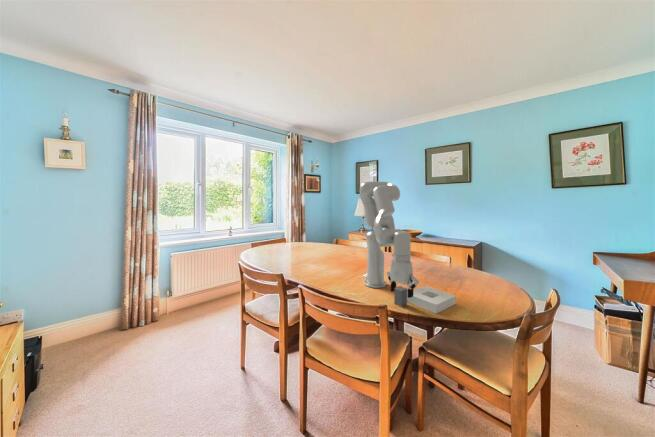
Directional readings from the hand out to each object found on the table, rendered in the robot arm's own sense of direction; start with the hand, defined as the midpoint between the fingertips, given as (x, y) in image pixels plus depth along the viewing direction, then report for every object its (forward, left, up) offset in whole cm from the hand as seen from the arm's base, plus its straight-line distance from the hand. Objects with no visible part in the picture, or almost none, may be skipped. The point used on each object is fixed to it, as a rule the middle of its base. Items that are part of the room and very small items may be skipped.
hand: (401, 293), depth 117 cm
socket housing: (+6, +13, -6) cm, 16 cm away
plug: (-1, 0, -6) cm, 6 cm away
